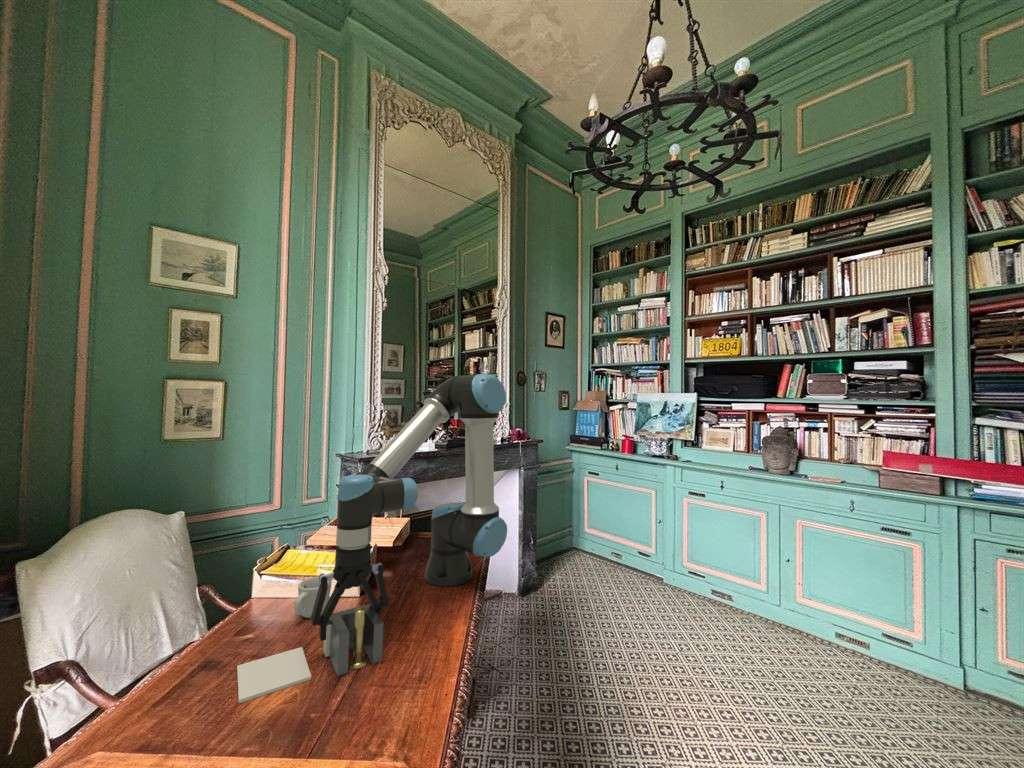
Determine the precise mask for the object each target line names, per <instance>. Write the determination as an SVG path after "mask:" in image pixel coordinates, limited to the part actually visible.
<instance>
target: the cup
mask: <svg viewBox="0 0 1024 768" xmlns="http://www.w3.org/2000/svg"><path fill="white" fill-rule="evenodd" d="M332 583H333V582H332V580H331V583H330V584H329V585H328V589H327V593H326V597H325V600H324V604H323V608H322V611H321V614H322V612H323V610H324V608H325V606H326V605H327V603H328V601H329V599H330V597H331V590H332V589H331V588H332ZM319 586H320V582H319V576H313V577H308V578H305V579H303V580H302V581H300V582H299V583H298V585H297V592H298V593H297V594H298V596H297V597H296V599H295V602H294V606H293V607H294V609H293V610H294V613H295V614H296V615H299V616H301V617H303V618H305V619H311V615H312V611H313V607H314V604H315V600H316V596H317V593H318V589H319Z"/></svg>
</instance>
